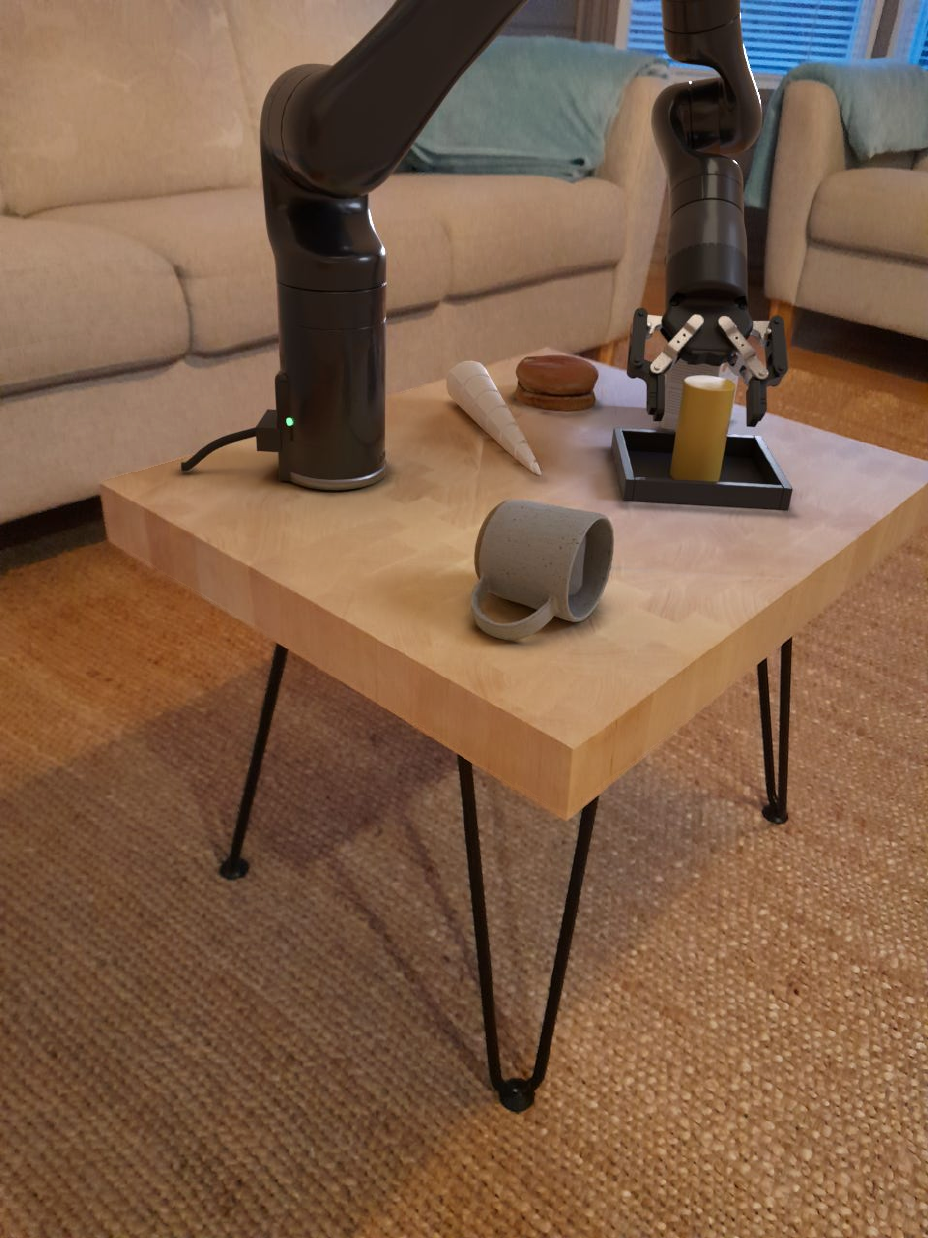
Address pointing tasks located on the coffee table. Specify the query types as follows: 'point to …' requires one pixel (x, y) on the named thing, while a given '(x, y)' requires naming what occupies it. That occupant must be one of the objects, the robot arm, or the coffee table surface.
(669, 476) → the tray
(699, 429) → the yellow cylinder
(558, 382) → the burger
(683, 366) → the small box
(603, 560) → the ceramic mug
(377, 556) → the coffee table surface
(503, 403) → the unicorn horn
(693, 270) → the robot arm
